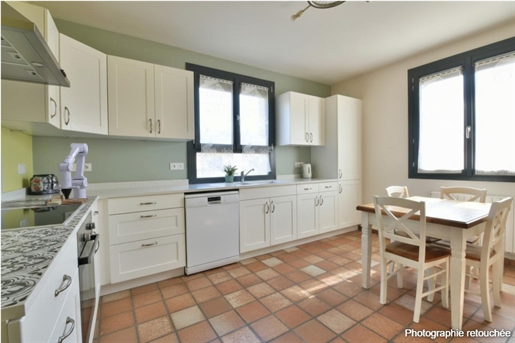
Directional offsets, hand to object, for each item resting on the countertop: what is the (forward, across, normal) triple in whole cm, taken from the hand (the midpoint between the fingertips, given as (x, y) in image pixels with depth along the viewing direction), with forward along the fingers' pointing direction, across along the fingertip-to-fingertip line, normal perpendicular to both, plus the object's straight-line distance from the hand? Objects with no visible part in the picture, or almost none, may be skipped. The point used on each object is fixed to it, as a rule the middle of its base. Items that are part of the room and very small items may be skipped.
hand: (67, 199), depth 165 cm
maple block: (+1, -5, 0) cm, 5 cm away
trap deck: (+3, +1, 0) cm, 3 cm away
